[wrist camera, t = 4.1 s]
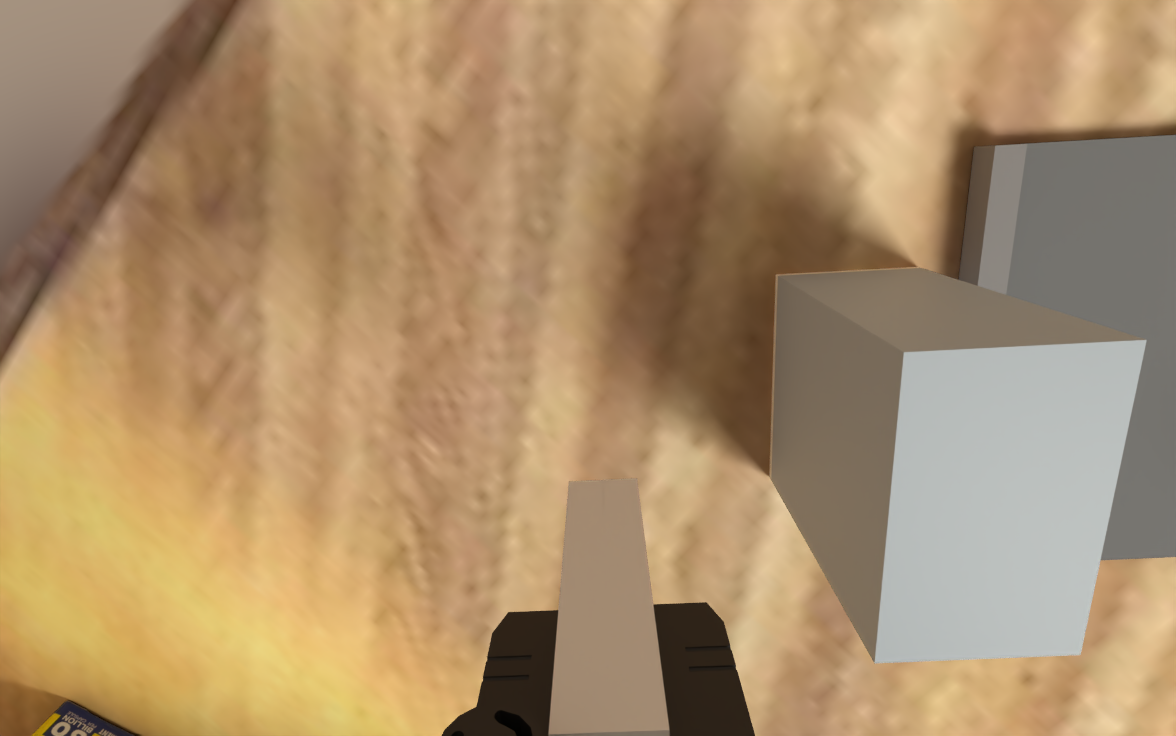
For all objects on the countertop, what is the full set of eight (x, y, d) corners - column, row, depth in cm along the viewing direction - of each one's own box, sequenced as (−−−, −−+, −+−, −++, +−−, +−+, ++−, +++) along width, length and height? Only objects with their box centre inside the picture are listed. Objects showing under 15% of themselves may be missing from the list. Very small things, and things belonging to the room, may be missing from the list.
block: (769, 476, 26) (874, 662, 16) (775, 274, 23) (904, 352, 14) (897, 470, 25) (1080, 654, 16) (917, 266, 23) (1146, 339, 13)
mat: (926, 558, 27) (940, 576, 25) (974, 146, 22) (995, 145, 21) (1250, 544, 26) (1280, 561, 25) (1372, 123, 21) (1416, 121, 20)
